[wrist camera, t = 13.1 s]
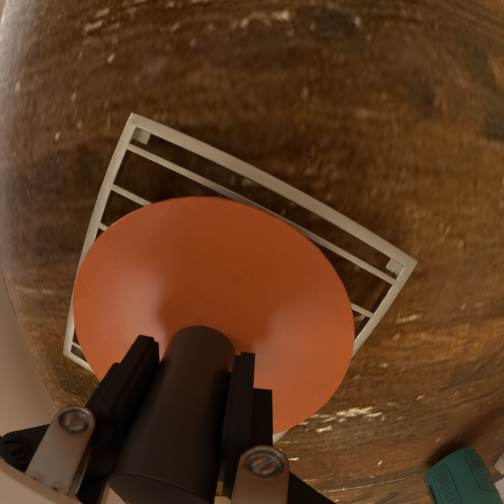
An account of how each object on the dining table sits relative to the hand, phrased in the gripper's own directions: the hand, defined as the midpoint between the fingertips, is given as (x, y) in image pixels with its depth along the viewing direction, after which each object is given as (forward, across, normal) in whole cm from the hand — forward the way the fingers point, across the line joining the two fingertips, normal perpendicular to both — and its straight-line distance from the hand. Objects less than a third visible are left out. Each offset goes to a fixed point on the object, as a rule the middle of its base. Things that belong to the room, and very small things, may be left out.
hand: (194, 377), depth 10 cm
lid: (+2, 0, 0) cm, 2 cm away
